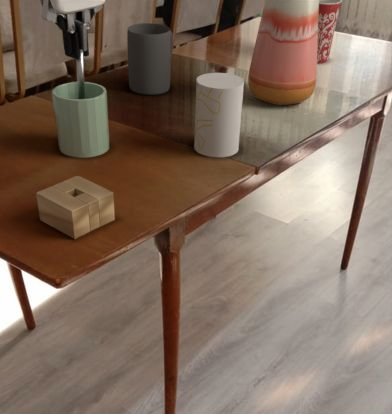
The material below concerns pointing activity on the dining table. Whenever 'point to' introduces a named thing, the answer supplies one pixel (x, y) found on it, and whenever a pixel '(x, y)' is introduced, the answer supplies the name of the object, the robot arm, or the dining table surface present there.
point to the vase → (285, 52)
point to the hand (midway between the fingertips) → (77, 55)
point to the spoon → (81, 57)
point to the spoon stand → (76, 206)
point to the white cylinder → (218, 114)
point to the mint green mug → (81, 120)
